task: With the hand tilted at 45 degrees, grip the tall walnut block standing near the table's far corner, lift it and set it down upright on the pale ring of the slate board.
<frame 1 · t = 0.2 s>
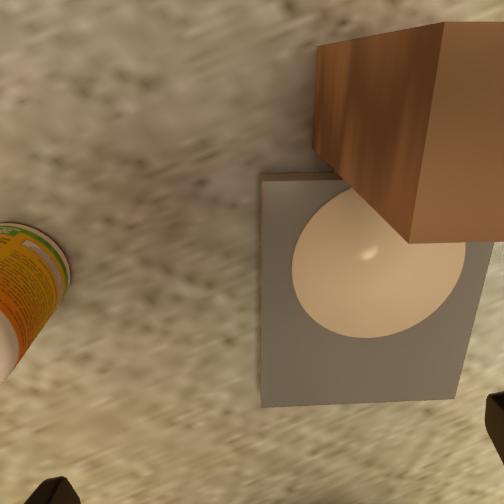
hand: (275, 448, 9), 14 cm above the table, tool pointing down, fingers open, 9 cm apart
walnut block: (361, 99, 20), on the table
slate board: (363, 291, 24), on the table
supplement bottle: (22, 266, 22), on the table
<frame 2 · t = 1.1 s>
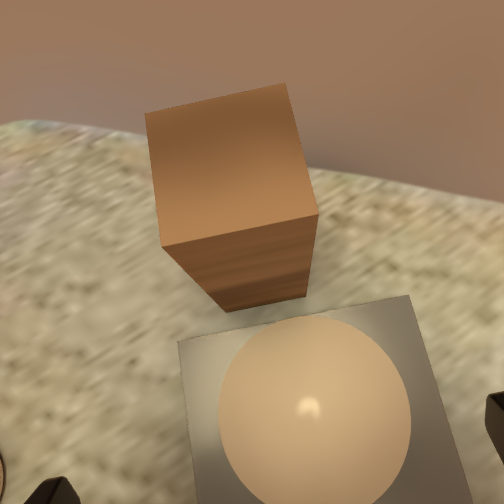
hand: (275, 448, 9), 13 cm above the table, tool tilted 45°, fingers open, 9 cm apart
walnut block: (258, 266, 24), on the table
slate board: (322, 462, 20), on the table
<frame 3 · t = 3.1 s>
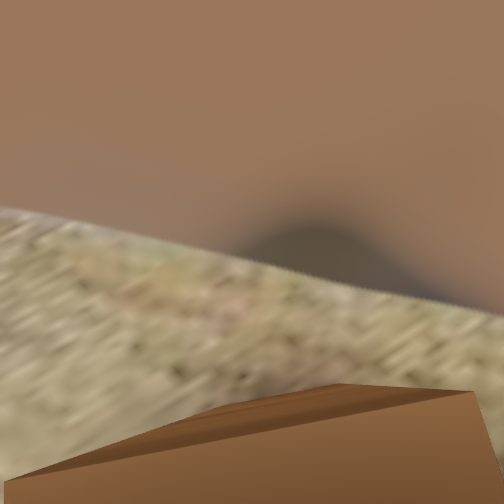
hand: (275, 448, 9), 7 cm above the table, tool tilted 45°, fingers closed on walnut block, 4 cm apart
walnut block: (290, 462, 15), on the table, touching gripper
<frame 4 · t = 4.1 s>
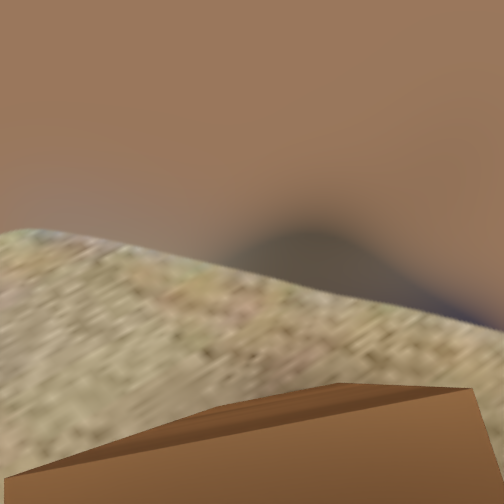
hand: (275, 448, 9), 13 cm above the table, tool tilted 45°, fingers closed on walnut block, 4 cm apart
walnut block: (290, 461, 15), point 7 cm above the table, touching gripper
when the fingers open (9 cm above the table, at t = 5.6 s): walnut block drops 1 cm, resting on slate board.
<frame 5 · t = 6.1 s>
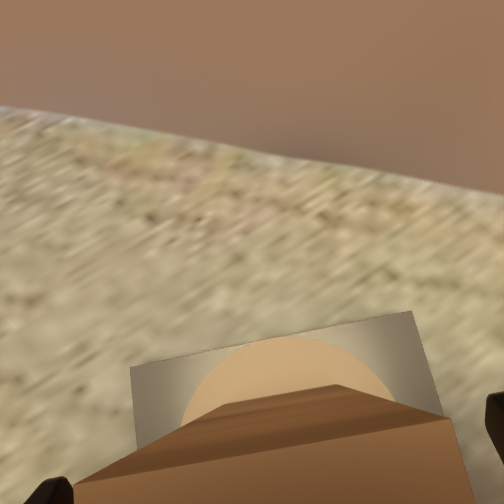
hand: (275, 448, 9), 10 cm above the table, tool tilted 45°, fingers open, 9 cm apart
walnut block: (291, 455, 16), point 2 cm above the table, touching slate board
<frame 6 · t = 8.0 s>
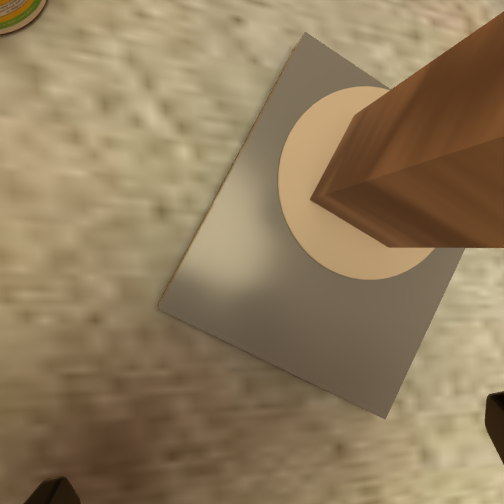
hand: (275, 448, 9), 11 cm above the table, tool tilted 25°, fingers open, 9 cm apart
walnut block: (371, 182, 19), point 2 cm above the table, touching slate board
slate board: (333, 231, 21), on the table
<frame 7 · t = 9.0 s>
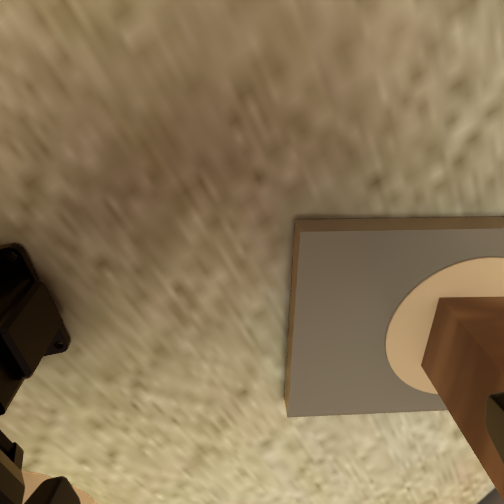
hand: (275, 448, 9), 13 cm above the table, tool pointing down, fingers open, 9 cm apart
walnut block: (470, 332, 22), point 2 cm above the table, touching slate board
slate board: (410, 315, 24), on the table
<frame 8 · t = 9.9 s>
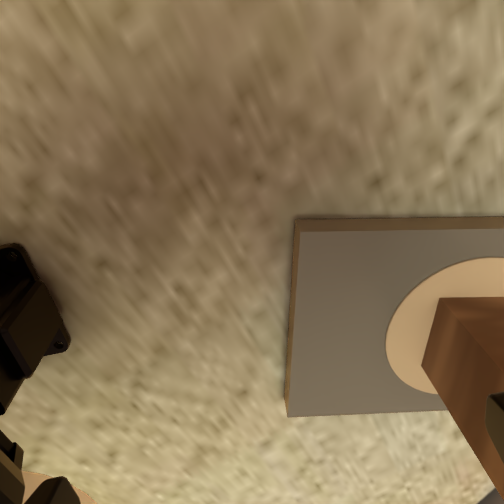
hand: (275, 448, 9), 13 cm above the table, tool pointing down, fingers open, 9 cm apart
walnut block: (470, 332, 22), point 2 cm above the table, touching slate board
slate board: (411, 315, 24), on the table
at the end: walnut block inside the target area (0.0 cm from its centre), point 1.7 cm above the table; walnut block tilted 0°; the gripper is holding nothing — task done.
